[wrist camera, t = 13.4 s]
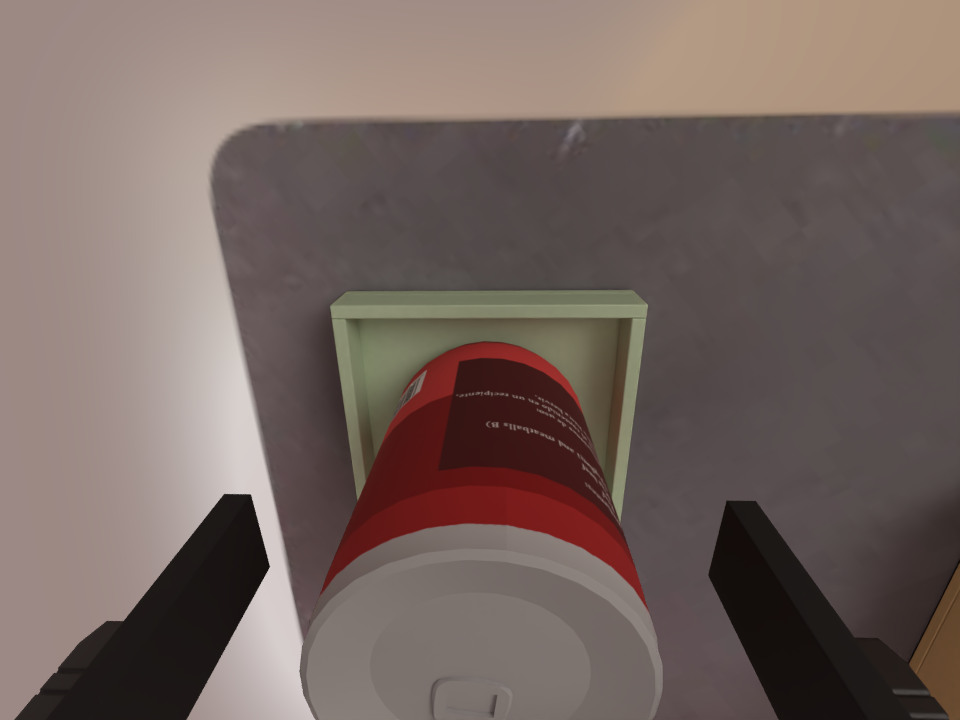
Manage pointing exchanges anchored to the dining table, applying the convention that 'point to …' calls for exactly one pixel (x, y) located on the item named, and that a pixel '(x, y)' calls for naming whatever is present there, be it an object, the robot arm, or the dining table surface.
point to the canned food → (483, 562)
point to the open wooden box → (942, 651)
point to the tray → (497, 318)
